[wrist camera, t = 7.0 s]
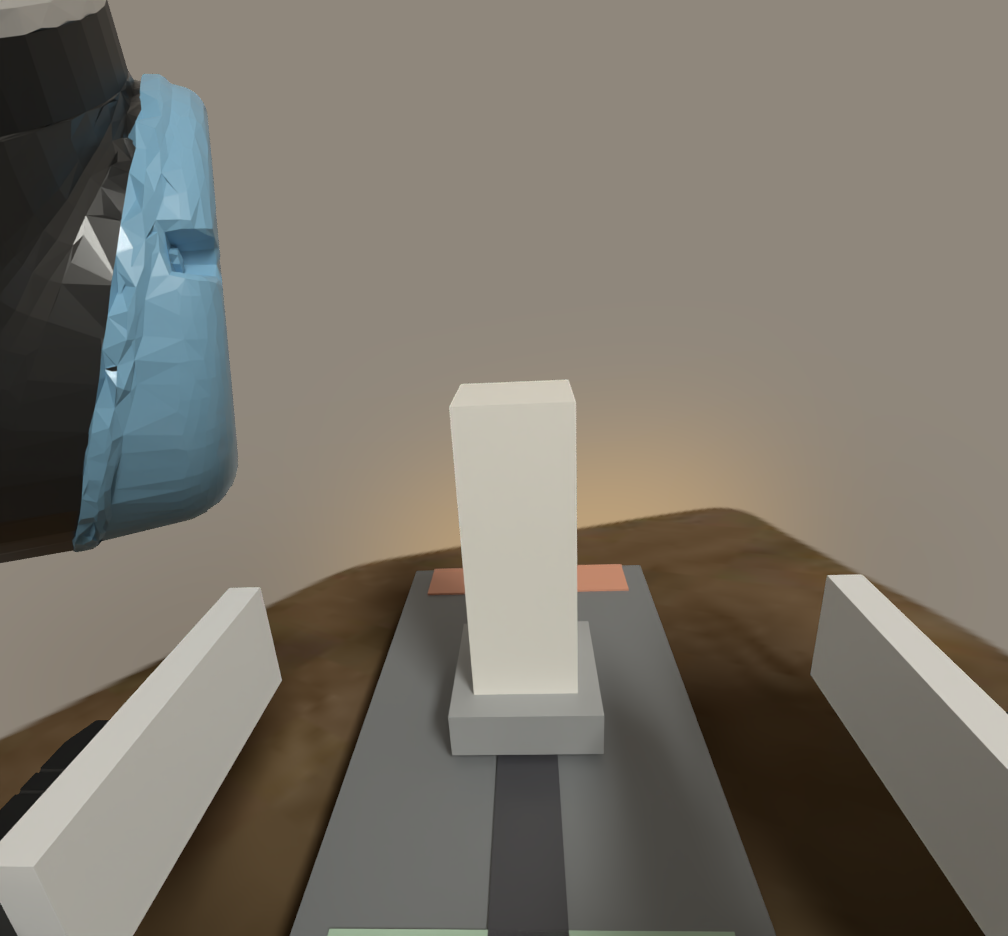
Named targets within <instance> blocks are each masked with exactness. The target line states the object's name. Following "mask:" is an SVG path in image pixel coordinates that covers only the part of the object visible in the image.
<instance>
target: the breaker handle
mask: <svg viewBox="0 0 1008 936" xmlns="http://www.w3.org/2000/svg"><path fill="white" fill-rule="evenodd" d="M449 411H450V422H451V434H452V445H453V457H454V467H455V468H454V469H455V481H456V492H457V504H458V514H459V527H460V538H461V550H462V562H463V574H464V585H465V597H466V608H467V620H468V624H464V627H463V633H462V638H461V644H460V650H459V656H458V662H457V668H456V674H455V680H454V686H453V692H452V697H451V703H450V709H449V715H448V721H449V731H450V740H451V749H452V755H550V754H604V711H603V705H602V699H601V693H600V688H599V682H598V676H597V670H596V664H595V658H594V652H593V646H592V640H591V635H590V629H589V623H588V621H577V494H576V493H577V490H576V489H577V487H576V486H577V483H576V400H575V398H574V395H573V392H572V389H571V386H570V383H569V380H547V381H523V382H499V383H476V384H461V385H460V387H459V389H458V391H457V393H456V395H455V396H454V398H453V400H452V402H451V404H450V406H449Z"/></svg>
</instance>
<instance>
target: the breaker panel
mask: <svg viewBox="0 0 1008 936" xmlns="http://www.w3.org/2000/svg"><path fill="white" fill-rule="evenodd" d="M577 621H588V623H589V629H590V635H591V640H592V646H593V652H594V658H595V664H596V670H597V676H598V682H599V688H600V693H601V699H602V705H603V711H604V754H550V755H452V749H451V740H450V731H449V721H448V715H449V709H450V703H451V697H452V692H453V686H454V680H455V674H456V668H457V662H458V656H459V650H460V644H461V638H462V633H463V627H464V624H468V620H467V608H466V597H465V585H464V574H463V568H449V569H435V570H434V571H416V574H415V577H414V580H413V583H412V586H411V589H410V591H409V594H408V597H407V600H406V603H405V606H404V609H403V612H402V614H401V617H400V620H399V623H398V626H397V629H396V632H395V635H394V637H393V640H392V643H391V646H390V649H389V652H388V655H387V658H386V660H385V663H384V666H383V669H382V672H381V675H380V678H379V681H378V683H377V686H376V689H375V692H374V695H373V698H372V701H371V703H370V706H369V709H368V712H367V715H366V718H365V721H364V724H363V726H362V729H361V732H360V735H359V738H358V741H357V744H356V747H355V749H354V752H353V755H352V758H351V761H350V764H349V767H348V770H347V772H346V775H345V778H344V781H343V784H342V787H341V790H340V793H339V795H338V798H337V801H336V804H335V807H334V810H333V813H332V816H331V818H330V821H329V824H328V827H327V830H326V833H325V836H324V838H323V841H322V844H321V847H320V850H319V853H318V856H317V859H316V861H315V864H314V867H313V870H312V873H311V876H310V879H309V882H308V884H307V887H306V890H305V893H304V896H303V899H302V902H301V905H300V907H299V910H298V913H297V916H296V919H295V922H294V925H293V928H292V930H291V933H290V936H776V934H775V931H774V928H773V925H772V923H771V920H770V917H769V914H768V912H767V909H766V906H765V904H764V901H763V898H762V895H761V893H760V890H759V887H758V885H757V882H756V879H755V876H754V874H753V871H752V868H751V866H750V863H749V860H748V857H747V855H746V852H745V849H744V847H743V844H742V841H741V838H740V836H739V833H738V830H737V828H736V825H735V822H734V819H733V817H732V814H731V811H730V809H729V806H728V803H727V800H726V798H725V795H724V792H723V790H722V787H721V784H720V781H719V779H718V776H717V773H716V770H715V768H714V765H713V762H712V760H711V757H710V754H709V751H708V749H707V746H706V743H705V741H704V738H703V735H702V732H701V730H700V727H699V724H698V722H697V719H696V716H695V713H694V711H693V708H692V705H691V703H690V700H689V697H688V694H687V692H686V689H685V686H684V684H683V681H682V678H681V675H680V673H679V670H678V667H677V665H676V662H675V659H674V656H673V654H672V651H671V648H670V646H669V643H668V640H667V637H666V635H665V632H664V629H663V627H662V624H661V621H660V618H659V616H658V613H657V610H656V607H655V605H654V602H653V599H652V597H651V594H650V591H649V588H648V586H647V583H646V580H645V578H644V575H643V572H642V569H641V567H640V565H632V566H621V564H606V565H577Z"/></svg>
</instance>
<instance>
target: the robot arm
mask: <svg viewBox="0 0 1008 936" xmlns="http://www.w3.org/2000/svg"><path fill="white" fill-rule="evenodd" d="M220 269H221V268H220V250H219V240H218V230H217V219H216V206H215V193H214V181H213V170H212V158H211V148H210V138H209V126H208V116H207V111H206V108H205V106H204V103H203V102H202V100H201V99H200V97H199V96H198V95H197V94H196V93H194V92H193V91H191V90H189V89H188V88H185V87H181V86H178V85H174V84H171V83H169V82H168V81H167V79H166V78H165V77H163V76H161V75H159V74H143V75H142V78H141V81H137V80H133V78H132V76H131V75H130V73H129V71H128V69H127V66H126V63H125V60H124V56H123V53H122V49H121V46H120V43H119V39H118V36H117V32H116V29H115V25H114V22H113V19H112V15H111V12H110V9H109V5H108V2H107V0H0V563H3V562H9V561H15V560H21V559H26V558H32V557H38V556H44V555H49V554H55V553H61V552H66V551H72V550H73V551H75V552H79V551H85V550H89V549H93V548H94V547H96V546H98V545H99V544H100V542H101V541H104V540H108V539H112V538H117V537H121V536H125V535H129V534H133V533H137V532H141V531H145V530H150V529H154V528H158V527H162V526H166V525H170V524H174V523H178V522H182V521H187V520H190V519H193V518H195V517H197V516H199V515H201V514H203V513H205V512H207V510H208V509H210V508H211V507H213V506H214V505H216V504H217V503H219V502H220V501H221V500H222V498H223V497H224V496H225V495H226V493H227V491H228V490H229V488H230V487H231V486H232V484H233V482H234V479H235V476H236V471H237V467H238V453H237V441H236V429H235V417H234V406H233V394H232V382H231V373H230V363H229V352H228V340H227V330H226V319H225V309H224V298H223V288H222V277H221V270H220ZM810 675H811V676H812V678H813V679H814V681H815V682H816V684H817V685H818V687H819V688H820V690H821V691H822V693H823V694H824V696H825V697H826V699H827V700H828V702H829V703H830V705H831V706H832V708H833V709H834V710H835V712H836V713H837V715H838V716H839V718H840V719H841V721H842V722H843V724H844V725H845V727H846V728H847V730H848V731H849V733H850V734H851V736H852V737H853V739H854V740H855V742H856V743H857V745H858V746H859V748H860V749H861V751H862V752H863V754H864V755H865V757H866V758H867V760H868V761H869V763H870V764H871V766H872V767H873V769H874V770H875V772H876V773H877V775H878V776H879V778H880V779H881V781H882V782H883V784H884V785H885V787H886V788H887V790H888V791H889V793H890V794H891V796H892V797H893V799H894V800H895V801H896V803H897V804H898V806H899V807H900V809H901V810H902V812H903V813H904V815H905V816H906V818H907V819H908V821H909V822H910V824H911V825H912V827H913V828H914V830H915V831H916V833H917V834H918V836H919V837H920V839H921V840H922V842H923V843H924V845H925V846H926V848H927V849H928V851H929V852H930V854H931V855H932V857H933V858H934V860H935V861H936V863H937V864H938V866H939V867H940V869H941V870H942V872H943V873H944V875H945V876H946V878H947V879H948V881H949V882H950V884H951V885H952V887H953V888H954V890H955V891H956V893H957V894H958V895H959V897H960V898H961V900H962V901H963V903H964V904H965V906H966V907H967V909H968V910H969V912H970V913H971V915H972V916H973V918H974V919H975V921H976V922H977V924H978V925H979V927H980V928H981V930H982V931H983V933H984V934H985V936H1008V712H1005V711H1004V710H1003V709H1002V708H1001V707H1000V706H999V705H998V704H997V703H996V702H994V701H993V700H992V699H991V698H990V697H989V696H988V695H987V694H986V693H985V692H984V691H983V690H982V689H981V688H980V687H979V686H978V685H977V684H976V683H975V682H974V681H973V680H972V679H970V678H969V677H968V676H967V675H966V674H965V673H964V672H963V671H962V670H961V669H960V668H959V667H958V666H957V665H956V664H955V663H954V662H953V661H952V660H951V659H950V658H949V657H948V656H947V655H945V654H944V653H943V652H942V651H941V650H940V649H939V648H938V647H937V646H936V645H935V644H934V643H933V642H932V641H931V640H930V639H929V638H928V637H927V636H926V635H925V634H924V633H923V632H921V631H920V630H919V629H918V628H917V627H916V626H915V625H914V624H913V623H912V622H911V621H910V620H909V619H908V618H907V617H906V616H905V615H904V614H903V613H902V612H901V611H900V610H899V609H898V608H896V607H895V606H894V605H893V604H892V603H891V602H890V601H889V600H888V599H887V598H886V597H885V596H884V595H883V594H882V593H881V592H880V591H879V590H878V589H877V588H876V587H875V586H874V585H872V584H871V583H870V582H869V581H868V580H867V579H866V578H865V577H864V576H863V575H827V579H826V585H825V590H824V596H823V602H822V608H821V614H820V620H819V626H818V632H817V638H816V644H815V650H814V656H813V662H812V667H811V673H810ZM281 681H282V679H281V674H280V670H279V666H278V661H277V657H276V653H275V648H274V644H273V640H272V635H271V631H270V626H269V622H268V618H267V613H266V609H265V605H264V601H263V596H262V592H261V587H245V588H229V589H228V590H227V591H226V592H225V593H224V594H223V595H222V596H221V598H220V599H219V600H218V601H217V602H216V603H215V604H214V605H213V606H212V607H211V609H210V610H209V611H208V612H207V613H206V614H205V615H204V616H203V617H202V619H201V620H200V621H199V622H198V623H197V624H196V625H195V626H194V627H193V629H192V630H191V631H190V632H189V633H188V634H187V635H186V636H185V637H184V638H183V640H182V641H181V642H180V643H179V644H178V645H177V646H176V647H175V649H174V650H173V651H172V652H171V653H170V654H169V655H168V656H167V657H166V658H165V659H164V661H163V662H162V663H161V664H160V665H159V666H158V667H157V668H156V669H155V671H154V672H153V673H152V674H151V675H150V676H149V677H148V678H147V679H146V680H145V682H144V683H143V684H142V685H141V686H140V687H139V688H138V689H137V690H136V692H135V693H134V694H133V695H132V696H131V697H130V698H129V699H128V700H127V702H126V703H125V704H124V705H123V706H122V707H121V708H120V709H119V710H118V711H117V713H116V714H115V715H114V716H113V717H112V718H111V719H110V720H96V721H95V722H93V723H92V724H90V725H89V726H88V727H86V728H85V729H83V730H82V731H80V732H79V733H78V734H76V735H75V736H73V737H72V738H70V739H69V740H68V741H66V742H65V743H64V744H63V745H62V746H61V747H60V748H59V749H58V750H57V751H56V752H55V753H54V754H53V755H52V756H51V758H50V759H49V760H48V761H47V762H46V763H45V764H44V765H43V766H42V767H41V771H40V772H39V773H35V774H34V775H33V776H32V777H31V778H30V780H29V781H28V782H27V783H26V784H25V785H24V786H23V787H22V788H21V789H20V790H21V791H20V793H19V794H18V795H14V796H13V797H12V798H11V799H10V800H9V802H8V803H7V804H6V805H5V806H4V807H3V808H2V809H1V810H0V936H133V935H134V933H135V931H136V930H137V928H138V926H139V924H140V923H141V921H142V919H143V918H144V916H145V914H146V912H147V911H148V909H149V907H150V906H151V904H152V902H153V900H154V899H155V897H156V895H157V894H158V892H159V890H160V888H161V887H162V885H163V883H164V882H165V880H166V878H167V876H168V875H169V873H170V871H171V870H172V868H173V866H174V864H175V863H176V861H177V859H178V858H179V856H180V854H181V852H182V851H183V849H184V847H185V846H186V844H187V842H188V840H189V839H190V837H191V835H192V834H193V832H194V830H195V828H196V827H197V825H198V823H199V822H200V820H201V818H202V816H203V815H204V813H205V811H206V810H207V808H208V806H209V804H210V803H211V801H212V799H213V798H214V796H215V794H216V792H217V791H218V789H219V787H220V786H221V784H222V782H223V780H224V779H225V777H226V775H227V774H228V772H229V770H230V768H231V767H232V765H233V763H234V762H235V760H236V758H237V756H238V755H239V753H240V751H241V750H242V748H243V746H244V744H245V743H246V741H247V739H248V738H249V736H250V734H251V732H252V731H253V729H254V727H255V726H256V724H257V722H258V720H259V719H260V717H261V715H262V714H263V712H264V710H265V708H266V707H267V705H268V703H269V702H270V700H271V698H272V696H273V695H274V693H275V691H276V690H277V688H278V686H279V684H280V683H281Z"/></svg>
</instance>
